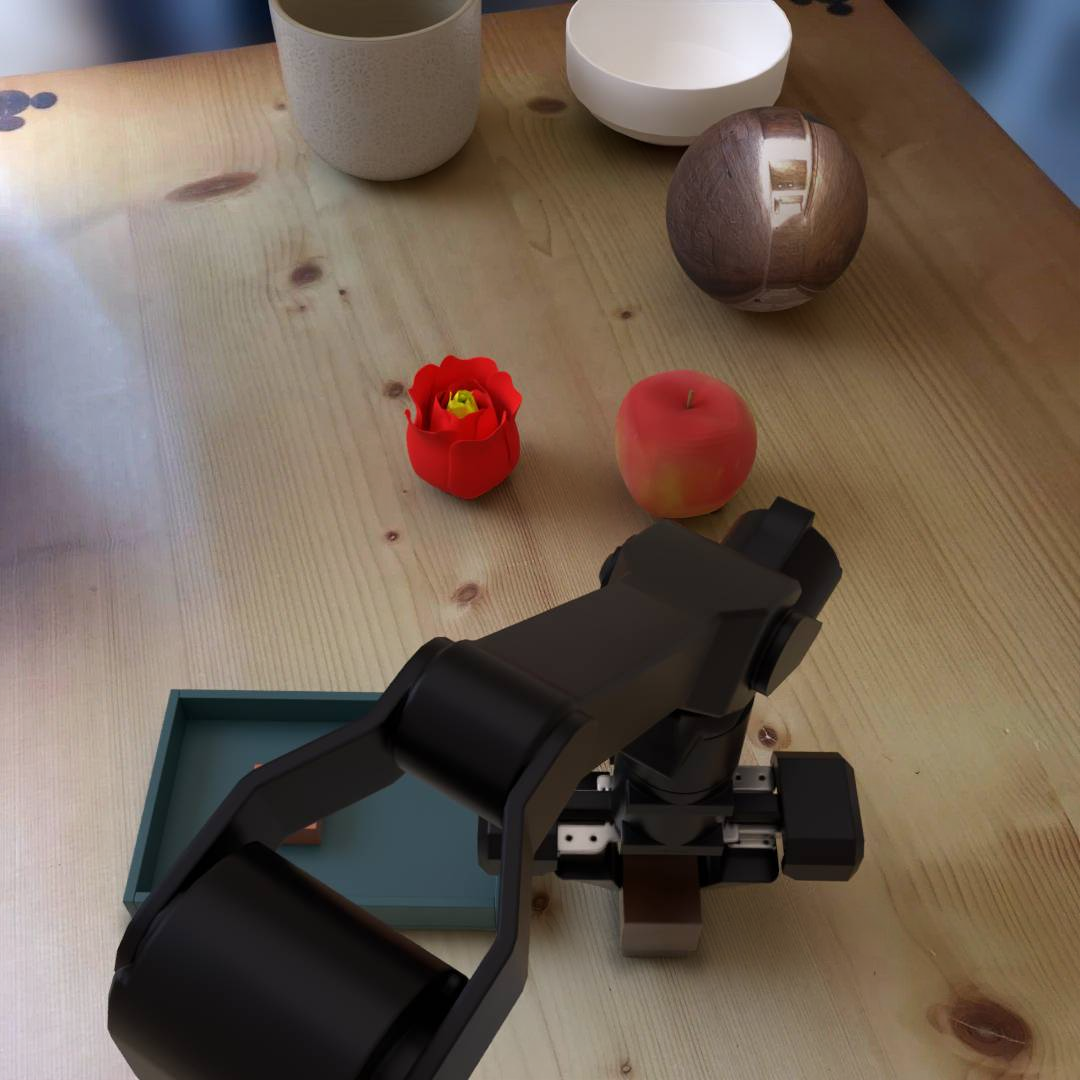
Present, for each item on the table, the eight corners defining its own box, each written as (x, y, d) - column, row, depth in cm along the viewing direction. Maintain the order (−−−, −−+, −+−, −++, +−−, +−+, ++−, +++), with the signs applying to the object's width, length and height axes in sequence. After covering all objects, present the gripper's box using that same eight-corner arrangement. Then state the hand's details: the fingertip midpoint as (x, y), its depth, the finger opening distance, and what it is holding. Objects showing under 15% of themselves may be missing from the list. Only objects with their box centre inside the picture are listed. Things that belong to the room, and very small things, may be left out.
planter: (341, 229, 109) (318, 62, 97) (265, 126, 118) (235, -38, 106) (520, 170, 114) (518, 5, 102) (433, 75, 123) (423, -86, 111)
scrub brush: (618, 960, 70) (623, 923, 66) (615, 823, 75) (620, 781, 71) (693, 961, 70) (702, 924, 66) (685, 824, 75) (693, 783, 71)
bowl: (577, 46, 127) (580, -38, 120) (781, 63, 125) (794, -22, 118) (550, 166, 114) (551, 79, 108) (775, 186, 113) (790, 99, 106)
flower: (541, 488, 91) (542, 406, 85) (445, 534, 88) (438, 454, 82) (482, 419, 95) (479, 337, 89) (389, 462, 92) (379, 380, 86)
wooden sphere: (703, 370, 98) (726, 206, 87) (631, 250, 107) (642, 86, 95) (881, 328, 101) (926, 163, 90) (796, 214, 110) (827, 51, 99)
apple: (729, 565, 87) (749, 464, 79) (591, 532, 88) (597, 430, 81) (757, 462, 92) (778, 359, 85) (627, 433, 94) (635, 329, 86)
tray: (135, 925, 71) (121, 902, 68) (181, 716, 79) (170, 688, 77) (507, 931, 71) (506, 908, 68) (513, 721, 79) (513, 693, 77)
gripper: (860, 598, 64) (808, 756, 76) (482, 592, 64) (490, 750, 77) (895, 802, 57) (832, 940, 69) (471, 795, 57) (482, 934, 70)
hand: (654, 882), depth 71 cm, fingers closed on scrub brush, 4 cm apart
